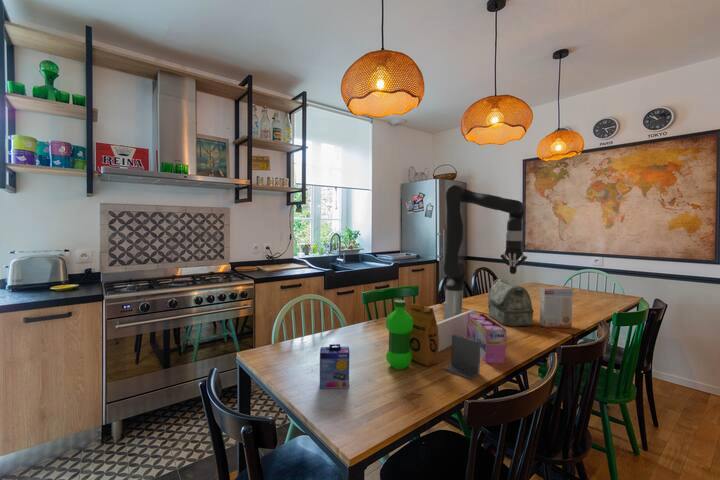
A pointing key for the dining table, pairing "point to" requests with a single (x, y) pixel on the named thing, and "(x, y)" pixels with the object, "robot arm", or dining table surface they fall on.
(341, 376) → the ink cartridge box
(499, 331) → the gum box
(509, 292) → the lunch bag
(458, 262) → the robot arm
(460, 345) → the bookend
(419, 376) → the dining table surface
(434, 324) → the coffee package
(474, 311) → the shelf wall
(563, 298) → the cracker box
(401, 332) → the plastic bottle
